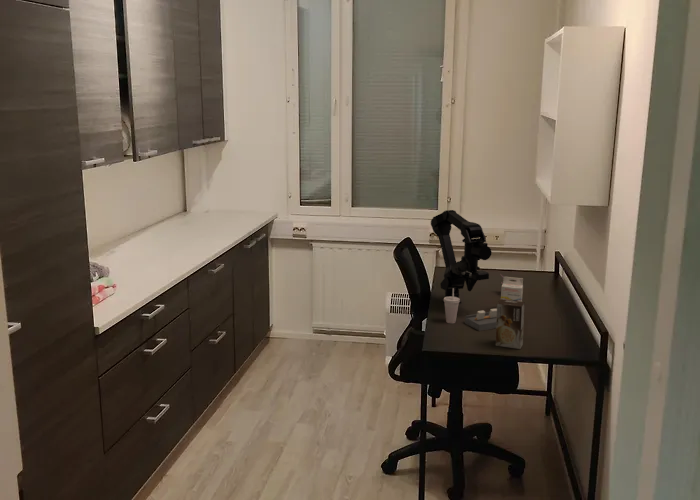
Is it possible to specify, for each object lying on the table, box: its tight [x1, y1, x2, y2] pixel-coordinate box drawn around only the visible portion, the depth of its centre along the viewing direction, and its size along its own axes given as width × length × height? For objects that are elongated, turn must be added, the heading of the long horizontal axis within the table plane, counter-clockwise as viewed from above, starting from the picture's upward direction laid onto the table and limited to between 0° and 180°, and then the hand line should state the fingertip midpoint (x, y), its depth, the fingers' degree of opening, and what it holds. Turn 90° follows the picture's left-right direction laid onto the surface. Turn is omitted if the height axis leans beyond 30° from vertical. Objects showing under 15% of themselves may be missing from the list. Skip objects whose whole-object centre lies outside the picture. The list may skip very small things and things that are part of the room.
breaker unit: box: [464, 311, 497, 332], centre depth 268 cm, size 10×19×3 cm, turn 114°
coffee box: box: [495, 298, 526, 350], centre depth 244 cm, size 9×6×16 cm
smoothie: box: [443, 288, 461, 324], centre depth 269 cm, size 6×6×14 cm
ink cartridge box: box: [500, 276, 524, 302], centre depth 280 cm, size 9×5×15 cm, turn 71°
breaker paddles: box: [475, 308, 497, 320], centre depth 267 cm, size 1×16×4 cm, turn 114°
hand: (469, 290), depth 281 cm, fingers closed
